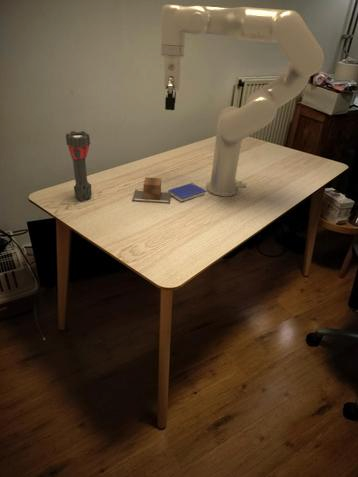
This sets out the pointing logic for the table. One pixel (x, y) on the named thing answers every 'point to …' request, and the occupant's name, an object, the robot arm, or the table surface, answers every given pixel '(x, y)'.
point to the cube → (152, 188)
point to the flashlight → (79, 162)
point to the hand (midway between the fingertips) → (170, 106)
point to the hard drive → (186, 192)
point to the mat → (139, 197)
